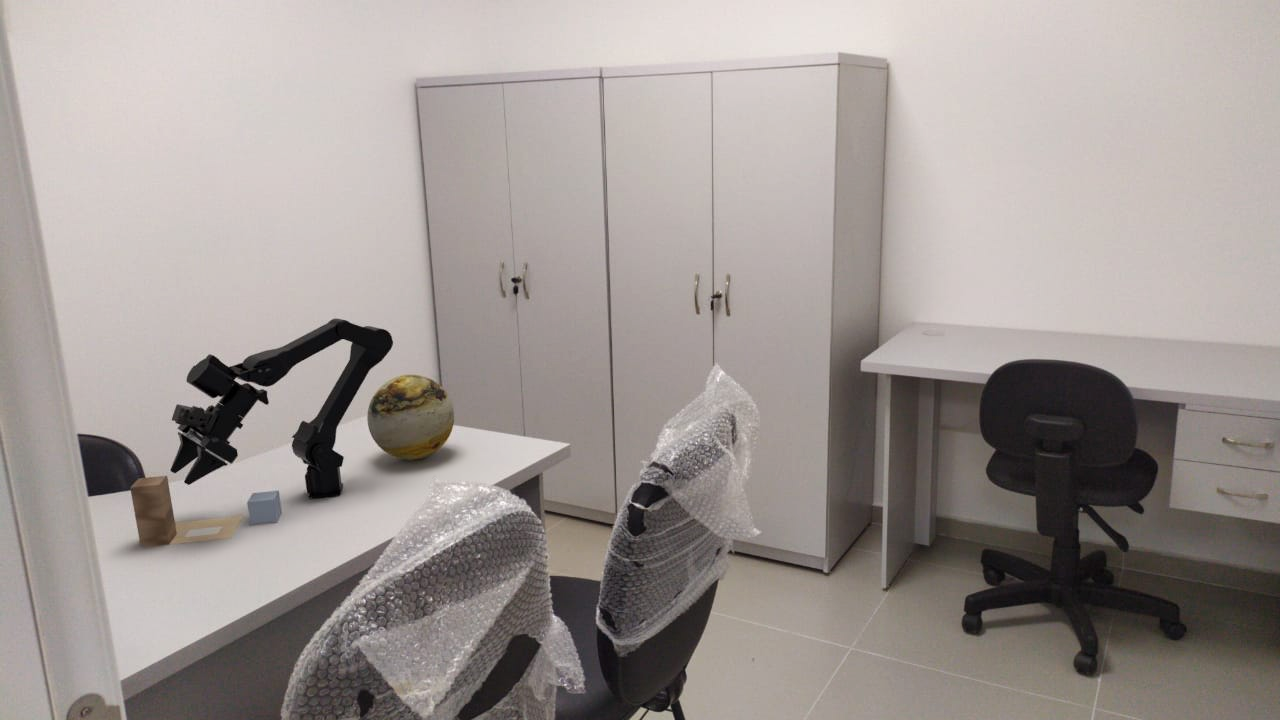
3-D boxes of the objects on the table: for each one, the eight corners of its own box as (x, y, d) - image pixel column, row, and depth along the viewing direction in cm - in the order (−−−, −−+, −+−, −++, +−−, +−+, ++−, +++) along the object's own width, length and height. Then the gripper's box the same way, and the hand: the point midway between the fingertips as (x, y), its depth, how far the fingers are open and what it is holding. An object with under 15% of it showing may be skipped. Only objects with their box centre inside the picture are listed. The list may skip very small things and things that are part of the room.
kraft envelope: (243, 516, 187) (243, 515, 187) (230, 538, 176) (230, 537, 176) (158, 525, 184) (158, 524, 184) (140, 548, 173) (140, 547, 173)
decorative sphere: (356, 470, 211) (346, 386, 207) (396, 442, 230) (388, 365, 226) (436, 473, 207) (427, 387, 202) (470, 445, 226) (463, 366, 221)
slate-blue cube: (281, 513, 188) (278, 490, 187) (277, 522, 183) (274, 499, 182) (256, 516, 187) (252, 493, 186) (250, 525, 182) (247, 502, 181)
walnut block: (176, 533, 179) (167, 475, 176) (169, 544, 174) (159, 484, 172) (149, 536, 178) (139, 478, 175) (140, 547, 173) (130, 487, 171)
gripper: (182, 380, 183) (129, 446, 179) (211, 396, 170) (155, 468, 165) (228, 410, 190) (179, 474, 186) (260, 428, 176) (207, 497, 172)
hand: (179, 477), depth 177 cm, fingers open, 9 cm apart
